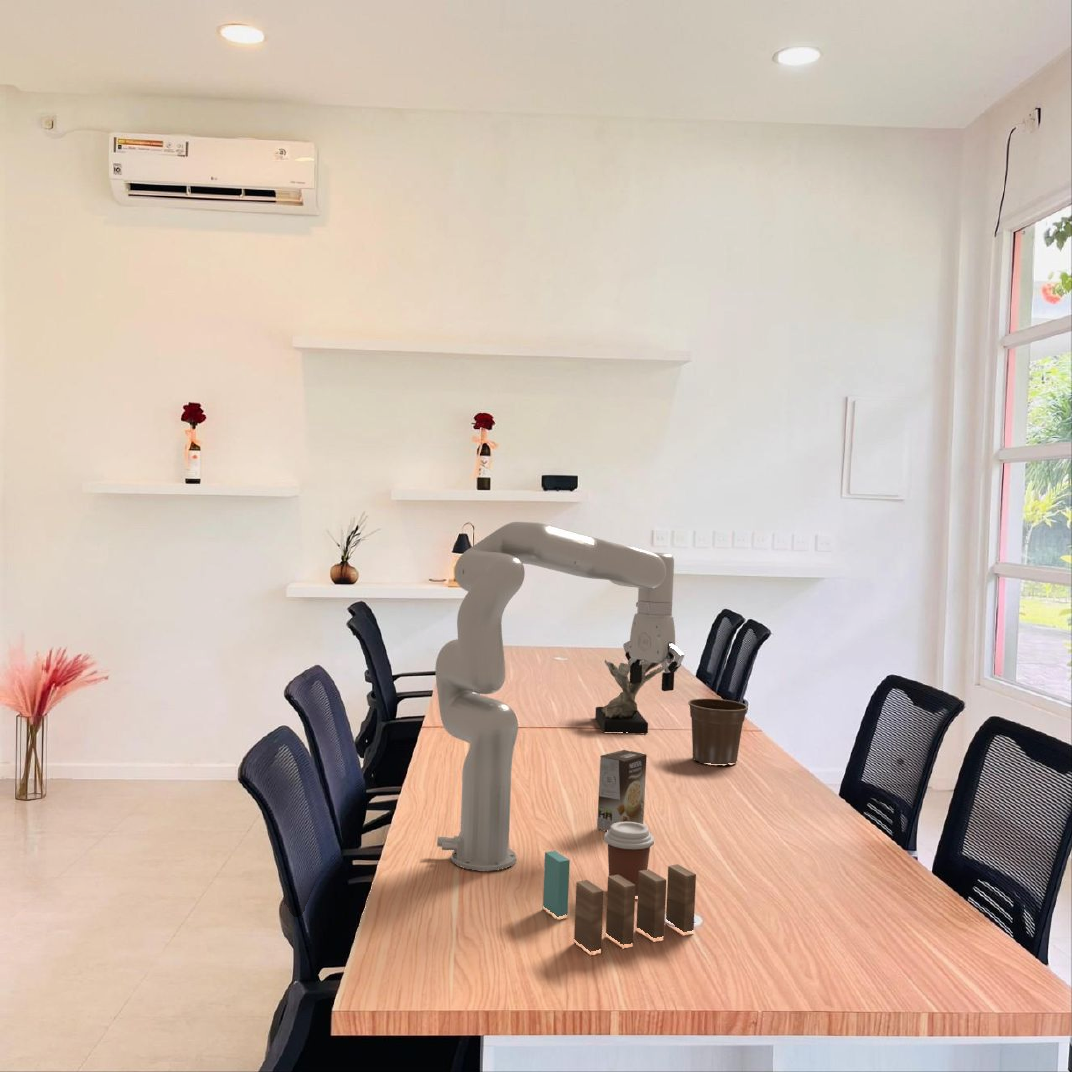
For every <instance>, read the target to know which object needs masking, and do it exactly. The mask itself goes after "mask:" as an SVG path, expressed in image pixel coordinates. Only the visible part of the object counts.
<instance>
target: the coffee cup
mask: <svg viewBox="0 0 1072 1072" xmlns="http://www.w3.org/2000/svg"><path fill="white" fill-rule="evenodd" d="M603 841H604V842H605V843H606V845H607V860H608V876H613V875H620V876H622V877H623V878H625V879H626V880H628V881H630V882H631V883H633V884H634V885H636V887H635V896H638V876H639V871H642V870H648V865H649V859H650V858H649V857H650V853H651V852H650V851H651V847H652V846H653V845H655V837H654V835H652V834H651V833H650V829H649V827H648V826H647V825H645V824H644V823H643V824H640V823H636V822H617V823H614V824H612V825H611V826H610V830H609V831H608V832H606V831H605V833H604V839H603Z"/></svg>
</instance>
